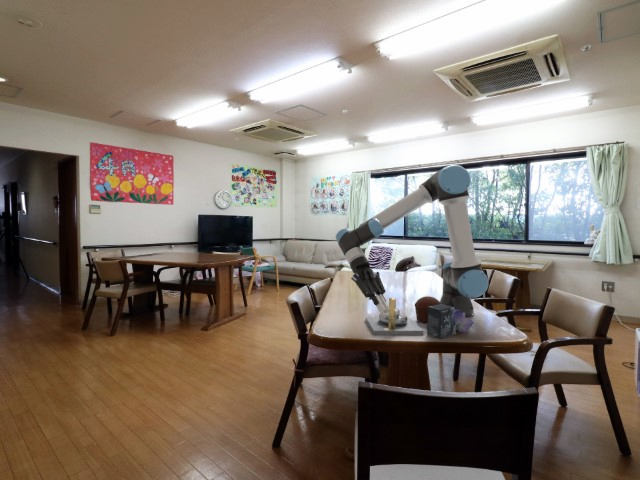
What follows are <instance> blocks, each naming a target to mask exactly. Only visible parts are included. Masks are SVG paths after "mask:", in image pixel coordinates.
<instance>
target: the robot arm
mask: <svg viewBox="0 0 640 480" xmlns="http://www.w3.org/2000/svg"><path fill="white" fill-rule="evenodd" d="M470 184H471V176H470V173H469V172H468V170H467V169H466V168H464V167H463V166H462V165H458V164H451V165H448V166H445V167H443V168H441V169H439V170H438V171H436V172H435V173H434V174H432V175H431V176H430V177H429V178H428V179H426V180H425V181H424V182H422V183H421V184H419V186H418V188H417V189H415V190H414V191H412V192H411V193H409V194H407V195H406V196H404V197H403V198H401V199H400V200H397V202H395V203H393V204H391V205H390V206H388V207H387V208H385V209H383V210H382V211H380V212H378V213H377V214H376V215H374V216H372V217H370V218H369V219H367V220H366V221H364V222H362V223H360V224H359V225H358V227H357V228H355V229H350V228H348V227H345V228H342V229H340V230H338V231H337V233H336V234H335V239H336V241H337V244H338V246H339V249H340V250H341V252H342V254H343V256H344V257H345V259H346V261H347V264H348V265H349V268H350V269H351V271H352V273H354V274H353V275H352V276H351V277H350V278H351V280H352V281H353V282H354V283H355V284H356V286H357V288H358V289H359V290H360V292H361V293H362V294H363V295H364V297H365V298H368V300H370V301H372V304H373V305H374V306H375V307H376V308H377V310H378V312H379V314H382V313H386V312H387V311H388V310H389V304H387V300H386V298H385V296H384V294H385V293H386V289H385V285H384V284H383V281H382V279H381V275H380V274H381V273H380V272H379V271H374V270H373V269H372V268H371V264H370V262H369V260H368V258H367V256H366V255H365V253H364V251H363V250H362V246H363V245H365V244H367V243H369V242H370V241H372V240H375V239H376V238H379V237H380V236H381V235H383V234H384V230H386V229H387V228H389V227H390V226H393V224H395V223H397V222H398V221H400V220H402V219H403V218H405V217H407V216H409V215H410V214H411V213H414V211H417V210H418V209H420V208H421V207H423V206H425V205H426V204H428V203H429V204H432V203H434V202H435V201H438V203H440V204H441V205H443V210H444V215H445V221H446V227H447V231H448V237H449V238H448V239H449V243H450V249H451V254H452V261H446V262H444V263H443V267H442V294H441V297H440V300H439V302H440V303H441V304H443V305H447V306H451V307H454V308H455V310H457V309H458V310H459V311H461V313H464V312H465V317H470V316H469V315H471V316H473V315H474V312H475V309H474V306H473V302H472V299H475V298H478V297H479V298H480V297H481V296H482V295H484V294H485V293H486V292H487V290H488V288H489V285H490V284H489V278H488V276H487V274H486V273H485V272H484V271H483V267H482V263H481V261H480V260H478V258H477V257H476V252H475V247H474V239H473V235H472V229H471V224H470V218H469V212H468V206H467V200H468V198H469V196H470V195H469V186H470ZM458 310H457V311H458ZM472 314H473V315H472Z"/></svg>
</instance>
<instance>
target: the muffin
mask: <svg viewBox="0 0 640 480" xmlns="http://www.w3.org/2000/svg"><path fill="white" fill-rule="evenodd" d="M439 304H441V303H440V300H439V299H437V298H435V297H433V296H429V295H427V296H422V297H421V298H419V299H417V301H416V302H415V303H414V308H415V317H416V320H417V322H418V323H420V324H424V325H427V322H428V306H434V305H439Z"/></svg>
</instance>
